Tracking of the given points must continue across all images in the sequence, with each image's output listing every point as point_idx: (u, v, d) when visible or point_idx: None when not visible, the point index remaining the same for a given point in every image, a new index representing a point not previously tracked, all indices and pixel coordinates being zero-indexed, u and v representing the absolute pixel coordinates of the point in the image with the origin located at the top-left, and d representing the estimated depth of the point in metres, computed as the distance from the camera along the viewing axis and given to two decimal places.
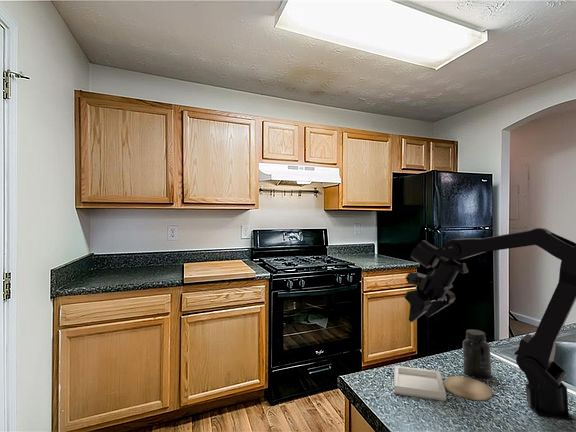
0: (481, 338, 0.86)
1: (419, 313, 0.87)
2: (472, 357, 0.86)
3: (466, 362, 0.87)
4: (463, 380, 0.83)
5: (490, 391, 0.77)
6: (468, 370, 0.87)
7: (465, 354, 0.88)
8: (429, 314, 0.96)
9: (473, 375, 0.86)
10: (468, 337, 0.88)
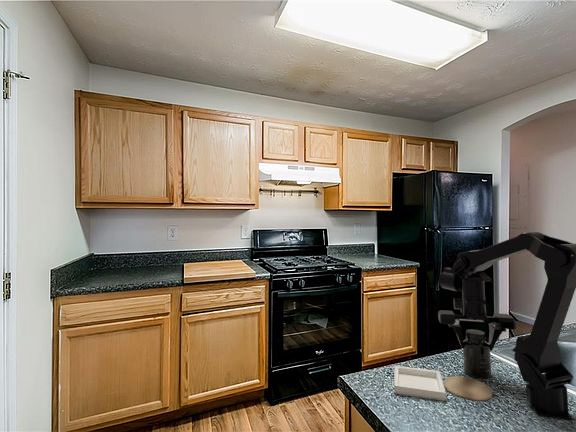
0: (481, 338, 0.86)
1: None
2: (472, 357, 0.86)
3: (466, 362, 0.87)
4: (463, 380, 0.83)
5: (490, 391, 0.77)
6: (468, 370, 0.87)
7: (465, 354, 0.88)
8: (490, 346, 0.86)
9: (473, 375, 0.86)
10: (468, 337, 0.88)
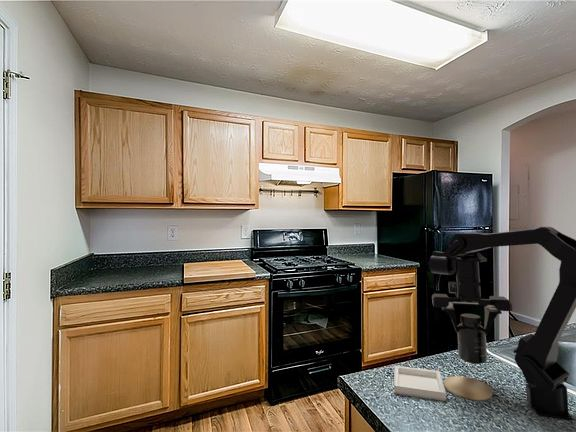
0: (476, 322, 0.83)
1: None
2: (466, 341, 0.83)
3: (460, 347, 0.84)
4: (463, 380, 0.83)
5: (490, 391, 0.77)
6: (462, 355, 0.84)
7: (459, 339, 0.85)
8: (485, 330, 0.83)
9: (468, 360, 0.83)
10: (462, 321, 0.85)
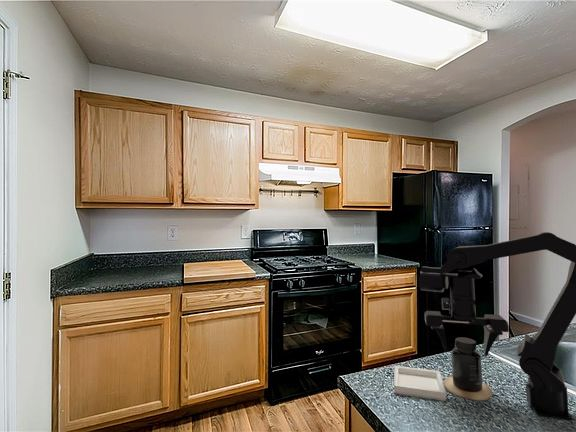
0: (471, 347, 0.78)
1: None
2: (461, 368, 0.78)
3: (455, 373, 0.80)
4: None
5: (490, 391, 0.77)
6: (457, 382, 0.79)
7: (454, 365, 0.80)
8: (485, 351, 0.78)
9: (462, 388, 0.78)
10: (457, 346, 0.80)
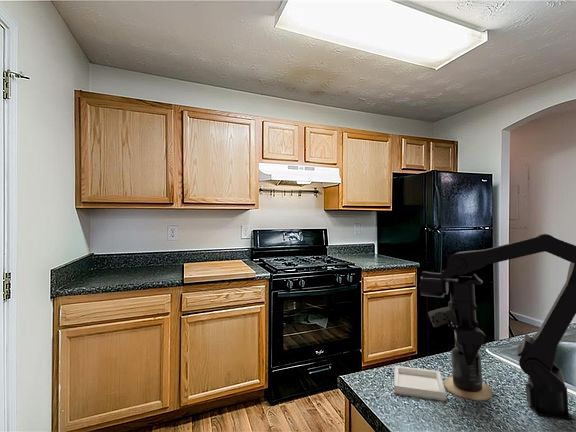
0: None
1: (477, 348, 0.75)
2: (461, 368, 0.78)
3: (455, 373, 0.80)
4: None
5: (490, 391, 0.77)
6: (457, 382, 0.79)
7: (454, 365, 0.80)
8: None
9: (462, 388, 0.78)
10: (457, 346, 0.80)
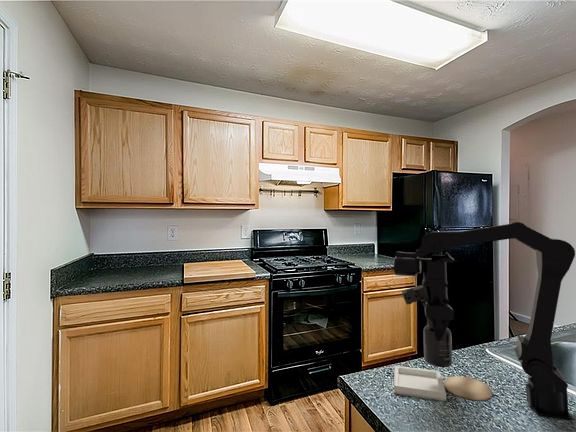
0: None
1: (446, 324, 0.77)
2: (431, 344, 0.80)
3: (425, 349, 0.81)
4: (463, 380, 0.83)
5: (490, 391, 0.77)
6: (427, 358, 0.81)
7: (425, 341, 0.82)
8: None
9: (432, 363, 0.80)
10: (428, 323, 0.82)
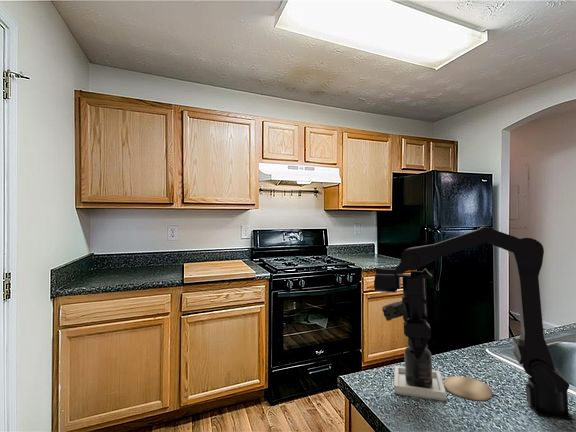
0: None
1: (425, 342, 0.76)
2: (411, 366, 0.80)
3: (406, 371, 0.82)
4: (463, 380, 0.83)
5: (490, 391, 0.77)
6: (408, 380, 0.81)
7: (406, 363, 0.82)
8: None
9: None
10: (409, 345, 0.82)
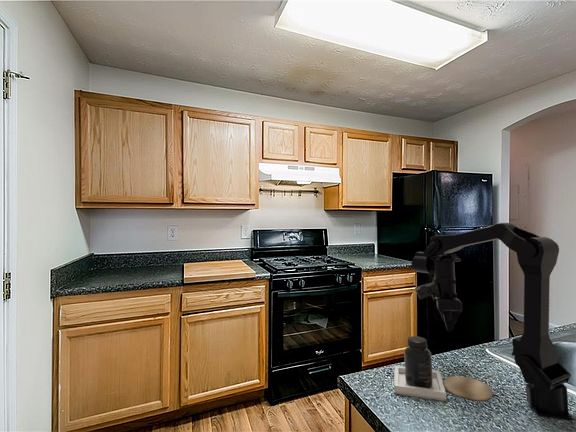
0: (421, 346, 0.80)
1: (456, 316, 0.87)
2: (411, 366, 0.80)
3: (406, 371, 0.82)
4: (463, 380, 0.83)
5: (490, 391, 0.77)
6: (408, 380, 0.81)
7: (405, 363, 0.82)
8: None
9: None
10: (409, 345, 0.82)
